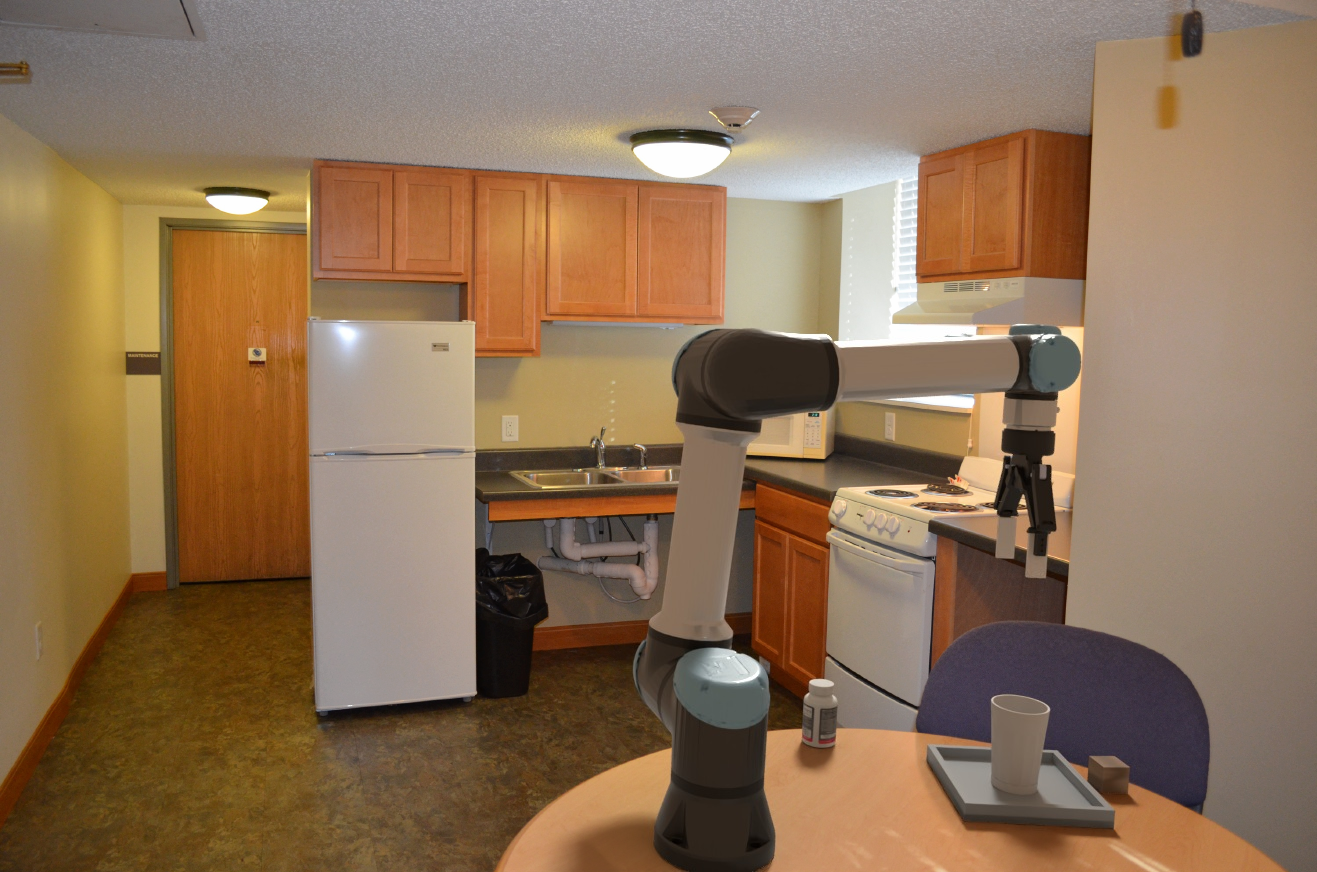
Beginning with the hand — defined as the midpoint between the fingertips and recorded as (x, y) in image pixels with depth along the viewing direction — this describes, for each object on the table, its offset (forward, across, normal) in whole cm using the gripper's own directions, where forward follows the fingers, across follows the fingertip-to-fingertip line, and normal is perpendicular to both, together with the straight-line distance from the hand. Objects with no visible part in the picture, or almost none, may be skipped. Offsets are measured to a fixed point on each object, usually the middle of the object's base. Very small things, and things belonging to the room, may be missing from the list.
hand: (1019, 567), depth 147 cm
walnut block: (+31, -6, -13) cm, 34 cm away
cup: (+30, -10, +2) cm, 32 cm away
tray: (+31, -10, +2) cm, 32 cm away
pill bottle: (+31, +5, +28) cm, 42 cm away
